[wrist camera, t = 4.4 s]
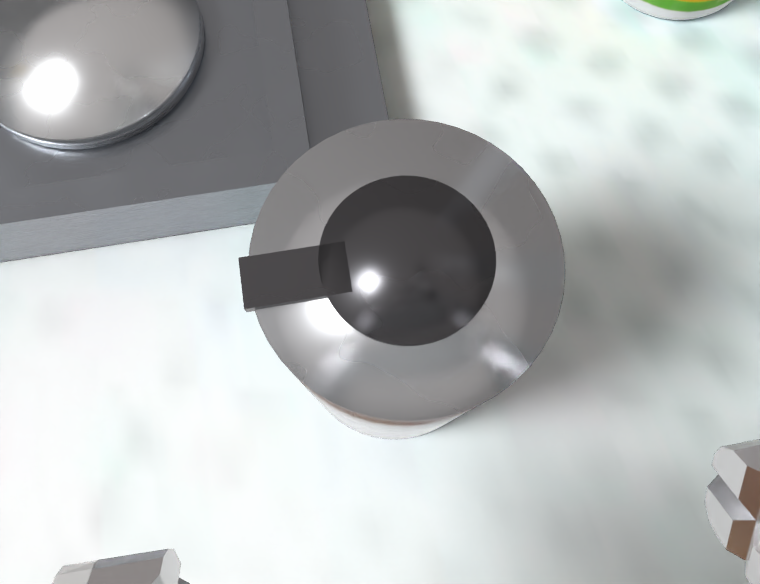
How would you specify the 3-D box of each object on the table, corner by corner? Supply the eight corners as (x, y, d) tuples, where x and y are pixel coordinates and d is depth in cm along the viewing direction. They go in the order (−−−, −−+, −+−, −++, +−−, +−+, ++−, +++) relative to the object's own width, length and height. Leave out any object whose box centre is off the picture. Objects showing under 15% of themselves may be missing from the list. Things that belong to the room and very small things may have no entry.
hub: (464, 246, 19) (526, 95, 11) (502, 422, 18) (604, 388, 10) (287, 273, 19) (225, 139, 11) (312, 455, 17) (260, 448, 10)
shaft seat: (338, -121, 23) (332, -216, 20) (400, 200, 19) (405, 149, 16) (-165, -58, 22) (-256, -146, 19) (-192, 291, 19) (-310, 256, 15)
